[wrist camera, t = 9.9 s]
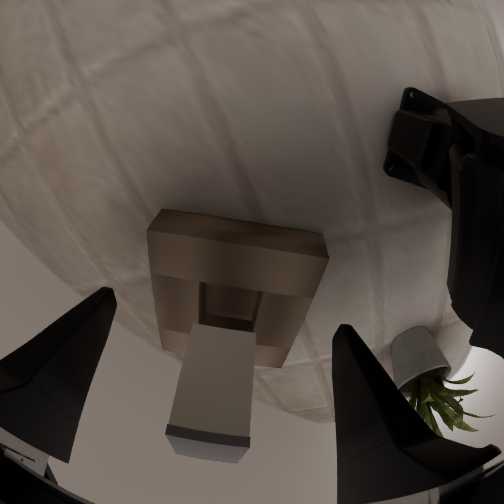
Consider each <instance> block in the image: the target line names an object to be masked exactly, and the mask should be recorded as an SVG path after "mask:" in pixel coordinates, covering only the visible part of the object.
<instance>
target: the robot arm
mask: <svg viewBox="0 0 504 504" xmlns="http://www.w3.org/2000/svg"><path fill="white" fill-rule="evenodd" d="M411 91H412V92H413V93H414V96H413V97H411V96H410V93H411ZM388 146H389V151H388V154H387V157H386V161H385V164H384V168H383V169H384V172H385V173H386V174H387V175H388V176H390V177H394V178H397V179H400V180H403V181H406V182H409V183H412V184H415V185H417V186H420V187H423V188H426V189H429V190H430V191H431V192H432V193H433V194H435V195H436V196H437V197H438V198H439V199H440V200H441V201H442V202H443V203H444V204H445V205H446V206H447V207H448V208H449V209H451V210H452V228H451V247H450V259H449V269H448V278H447V286H448V290H449V294H450V298H451V300H452V303H451V306H452V308H453V310H454V311H455V313H456V314H457V316H458V317H459V318H460V319H461V320H462V321H463V322H464V323H465V324H466V325H467V326H468V327H470V328H471V329H473V332H472V335H471V337H470V340H469V343H470V345H472V346H476V347H480V348H485V349H488V350H490V351H492V352H494V353H496V354H497V355H499V356H501V357H502V358H503V359H504V98H490V99H477V100H467V101H459V102H451V103H446V104H445V103H443V102H441V101H439V100H437V99H435V98H434V97H432V96H430V95H428V94H426V93H424V92H422V91H420V90H418V89H416V88H412V87H408V88H406V89H405V91H404V95H403V99H402V103H401V108H400V110H399V111H397V114H396V117H395V121H394V125H393V129H392V132H391V136H390V139H389V143H388ZM391 166H393V170H392V171H389V168H390V167H391ZM116 308H117V301H116V298H115V294H114V291H113V289H112V288H109V287H102V288H100V289H99V290H98V291H96V292H95V293H93V294H92V295H90V296H89V297H88V298H86V299H85V300H83V301H82V302H81V303H79V304H78V305H76V306H75V307H74V308H72V309H71V310H70V311H68V312H67V313H65V314H64V315H63V316H62V317H60V318H59V319H57V320H56V321H55V322H53V323H52V324H51V325H49V326H48V327H47V328H45V329H44V330H43V331H42V333H41V332H40V333H39V334H37V335H36V336H35V337H34V338H32V339H31V340H29V341H28V342H27V343H25V344H24V345H22V346H21V347H20V348H18V349H16V350H15V351H14V352H12V353H10V354H9V355H7V356H6V357H4V358H3V359H1V360H0V504H95V503H92V502H90V501H88V500H85V499H84V498H81V497H79V496H77V495H75V494H73V493H71V492H69V491H67V490H66V489H64V488H62V487H60V486H58V483H57V481H56V479H55V477H54V475H53V473H52V471H51V469H50V467H49V465H48V463H47V461H48V458H49V455H50V456H52V457H54V458H56V459H59V460H61V461H63V462H65V463H69V460H70V455H71V451H72V447H73V442H74V439H75V435H76V431H77V428H78V422H79V420H80V417H81V413H82V410H83V406H84V403H85V400H86V397H87V394H88V391H89V388H90V385H91V382H92V379H93V376H94V373H95V371H96V368H97V365H98V362H99V360H100V357H101V354H102V352H103V349H104V346H105V344H106V341H107V338H108V335H109V331H110V328H111V325H112V321H113V318H114V314H115V311H116ZM332 382H333V394H334V407H335V423H336V442H337V464H338V465H337V504H504V460H502V461H500V462H498V463H497V464H495V465H493V466H491V467H489V468H486V469H484V464H485V463H487V462H489V461H490V460H492V459H494V458H495V457H497V456H498V455H500V454H501V453H502V451H501V450H500V449H499V448H498V447H497V446H495V445H492V444H489V445H488V446H486V447H484V448H475V447H471V446H467V445H464V444H461V443H458V442H455V441H452V440H448V439H446V438H443V437H441V436H439V435H437V434H436V433H435V432H434V431H433V430H432V429H431V428H430V427H429V426H428V425H427V424H426V422H425V421H424V420H423V419H422V418H421V417H420V415H419V414H418V413H417V412H416V411H415V410H414V408H413V407H412V406H411V405H410V404H409V402H408V401H407V400H406V398H405V397H404V396H403V394H402V393H401V391H400V390H399V389H398V387H397V386H396V385H395V383H394V382H393V380H392V379H391V378H390V376H389V375H388V374H387V372H386V371H385V369H384V368H383V367H382V365H381V364H380V363H379V361H378V360H377V359H376V357H375V356H374V355H373V353H372V352H371V351H370V349H369V348H368V347H367V345H366V344H365V343H364V341H363V340H362V339H361V337H360V336H359V335H358V333H357V332H356V331H355V329H354V328H353V327H352V326H351V325H349V324H341V325H340V326H339V328H338V329H337V331H336V333H335V334H334V336H333V340H332Z"/></svg>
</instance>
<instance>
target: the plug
mask: <svg viewBox="0 0 504 504" xmlns="http://www.w3.org/2000/svg"><path fill="white" fill-rule="evenodd" d="M255 344H256V333H252V332H244V331H238V330H231V329H224V328H218V327H212V326H206V325H200V324H195V323H193V325H192V328H191V332H190V336H189V340H188V344H187V348H186V352H185V356H184V360H183V364H182V368H181V372H180V376H179V380H178V384H177V389H176V393H175V397H174V402H173V406H172V411H171V415H170V420H169V424H167V428H166V432H165V435H166V436H167V438H168V440H169V442H170V444H171V445H172V447H173V448H174V450H175V452H176V454H179V455H184V456H189V457H194V458H200V459H206V460H213V461H221V462H228V463H237V462H238V461H239V460H240V459H241V458H242V457H243V455H244V454H245V453H246V451H247V450H248V449H249V448H250V437H249V432H250V419H251V404H252V390H253V375H254V359H255Z"/></svg>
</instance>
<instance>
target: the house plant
mask: <svg viewBox="0 0 504 504" xmlns="http://www.w3.org/2000/svg"><path fill="white" fill-rule="evenodd" d="M391 354H392V364H393V376H394V383H395V385H396V386H397V387H398V389H399V390H400V391H401V393H402V394H403V396H404V397H405V398H408V397H410V399H411V400H409V404H410V405H411V406H412V407H413V408H414V410H415V407H416V410H417V411H416V410H415V411H416V412H417V413H418V414H419V415H420V417H421V418H422V419H423V420H424V419H425V422H426V424H427V425H428V426H429V427H430V428H431V429H432V430H433V431H434V432H435V433H436V434H437V435H439V436H441V437H443V435H442V433H441V432H440V430H439V428H438V425H437V423H436V420H435V418H434V416H433V414H432V410H431V407H432V408H433V409H434V410H435V411H437V412H438V413H439V414H440V416H441V418H442V420H443V422H444V423H445V424H446V425H447V426H448V427H449V429H450V430H452V431H453V425H454V426H456V427H457V428H459V429H462V430H466V431H471V432H474V431H478V430H475V429H474V428H471V427H470V426H469V425H467V424H466V423H465V422H463V414H465V415H468V416H472V417H477V418H485V417H479V416H476V415H473V414H469V413H466V412H464V411H463V408H462V406H461V405H460V404H459V402H460V401H462V400H463V399H461V398H460V400H459V401H456V400H455V399H454V398H453V397H457V396H464V395H468V394H471V393H473V392H475V391H477V390H476V389H475V390H470V391H469V390H451V389H448V388H446V387H445V386H444V384H443V381H444V380H445V381H447V382H449V383H452V384H464V383H466V382H468V381H469V380H470V379H471V378H472V376H473V375H472V376H470V377H468V378H465V379H463V380H459V381H448V380H446V378H447V377H448V376H449V374H450V373H451V369H452V368H451V366H450V365H449V363H448V361H447V360H446V358H445V356H444V355H443V353H442V351H441V350H440V348H439V347H438V345H437V343H436V342H435V340H434V339H433V337H432V336H431V334H430V333H429V331H428V329H427V328H425V327H421V326H420V327H414V328H411V329H409V330H407V331H405V332H403V333H402V334H400V335H399V336H397V337H396V338H395V339H394V340H393V342H392V344H391ZM416 400H417V406H416ZM445 403H446V404H447V405H446V404H445ZM448 405H449V406H448ZM430 406H431V407H430ZM449 407H451V408H452V409H453V410H454V411H455V412H456V413H457V414H456V413H455V412H454V411H453V410H451V409H450V408H449ZM489 417H490V416H489ZM443 438H444V437H443Z"/></svg>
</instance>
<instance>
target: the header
mask: <svg viewBox="0 0 504 504" xmlns="http://www.w3.org/2000/svg"><path fill="white" fill-rule="evenodd" d="M147 241H148V252H149V262H150V271H151V280H152V288H153V295H154V302H155V309H156V315H157V322H158V327H159V333H160V339H161V344H162V349H163V350H166V351H171V352H176V353H181V354H185V352H186V348H187V344H188V340H189V336H190V332H191V328H192V325H193V323H195V324H200V325H206V326H212V327H218V328H224V329H231V330H238V331H244V332H252V333H256V344H255V359H254V365H256V366H265V367H274V368H281V367H282V365H283V363H284V361H285V359H286V357H287V355H288V353H289V351H290V349H291V347H292V345H293V342H294V340H295V338H296V336H297V334H298V332H299V329H300V327H301V325H302V323H303V321H304V318H305V316H306V314H307V311H308V309H309V307H310V305H311V302H312V300H313V297H314V295H315V293H316V290H317V288H318V285H319V283H320V281H321V278H322V276H323V273H324V271H325V268H326V266H327V263H328V261H329V256H328V252H327V249H326V245H325V242H324V238H323V235H322V234H319V233H313V232H307V231H302V230H296V229H290V228H284V227H278V226H272V225H266V224H260V223H254V222H248V221H241V220H235V219H229V218H222V217H215V216H208V215H202V214H195V213H188V212H180V211H173V210H166V209H161V211H160V212H159V213H158V215H157V216H156V217H155V219H154V220H153V222H152V223H151V225H150V226H149V227H148V229H147Z"/></svg>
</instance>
